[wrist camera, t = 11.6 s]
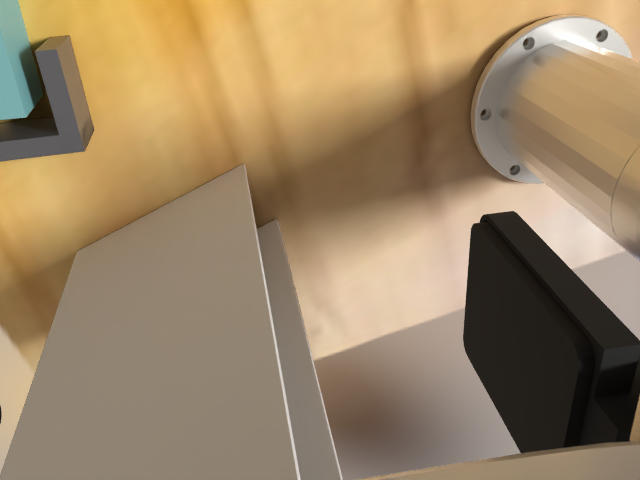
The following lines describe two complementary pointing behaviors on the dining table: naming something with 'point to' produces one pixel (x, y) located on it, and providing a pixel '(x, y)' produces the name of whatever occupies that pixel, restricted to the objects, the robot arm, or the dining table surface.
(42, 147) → the end cap
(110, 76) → the dining table surface
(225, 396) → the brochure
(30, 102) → the slat
